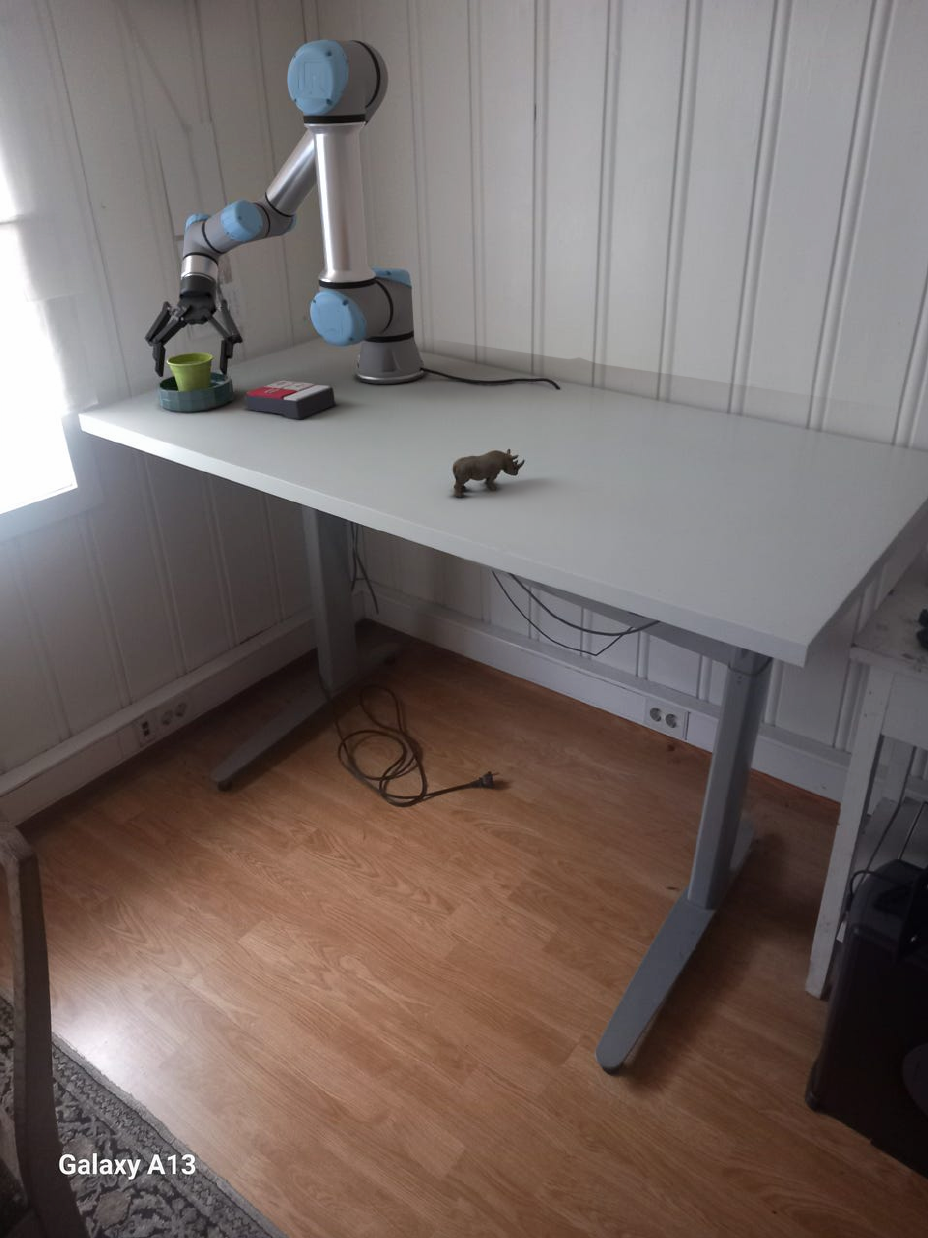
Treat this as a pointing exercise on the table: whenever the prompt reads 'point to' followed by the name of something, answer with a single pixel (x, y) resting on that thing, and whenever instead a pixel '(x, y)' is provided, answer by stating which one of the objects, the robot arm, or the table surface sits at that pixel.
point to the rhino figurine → (484, 469)
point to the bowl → (195, 394)
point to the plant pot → (191, 370)
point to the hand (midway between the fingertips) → (191, 372)
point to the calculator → (290, 399)
